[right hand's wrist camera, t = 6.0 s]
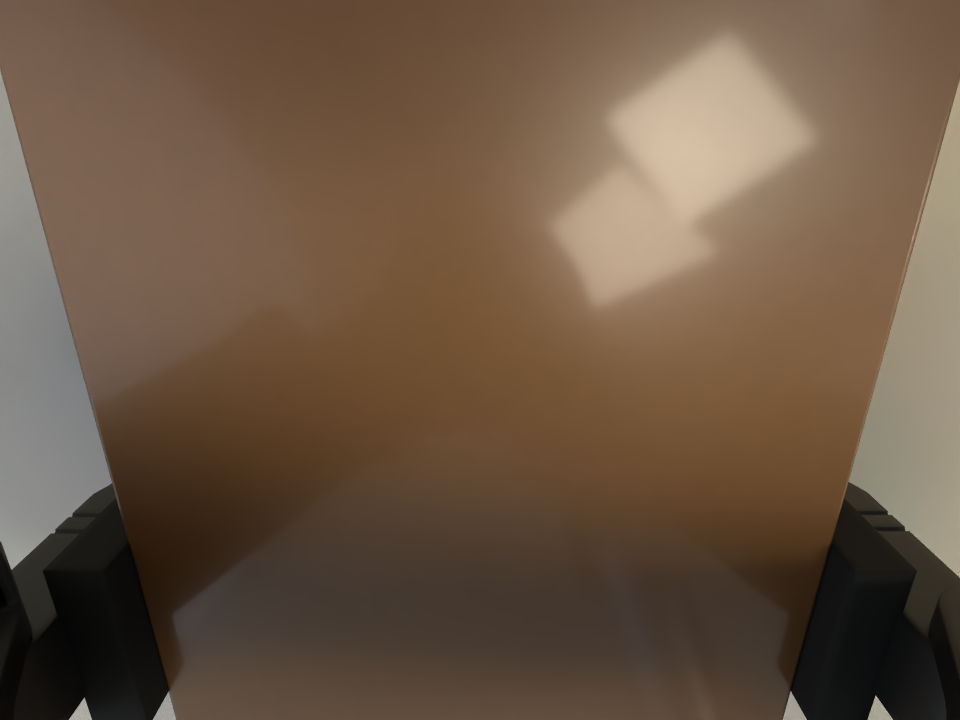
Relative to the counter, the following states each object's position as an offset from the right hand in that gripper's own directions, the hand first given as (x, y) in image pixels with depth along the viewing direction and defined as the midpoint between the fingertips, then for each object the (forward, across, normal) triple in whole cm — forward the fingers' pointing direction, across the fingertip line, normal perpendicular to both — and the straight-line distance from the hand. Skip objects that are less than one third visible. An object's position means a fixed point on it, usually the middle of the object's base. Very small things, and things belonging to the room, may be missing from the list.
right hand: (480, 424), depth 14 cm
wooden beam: (0, 0, -23) cm, 23 cm away
